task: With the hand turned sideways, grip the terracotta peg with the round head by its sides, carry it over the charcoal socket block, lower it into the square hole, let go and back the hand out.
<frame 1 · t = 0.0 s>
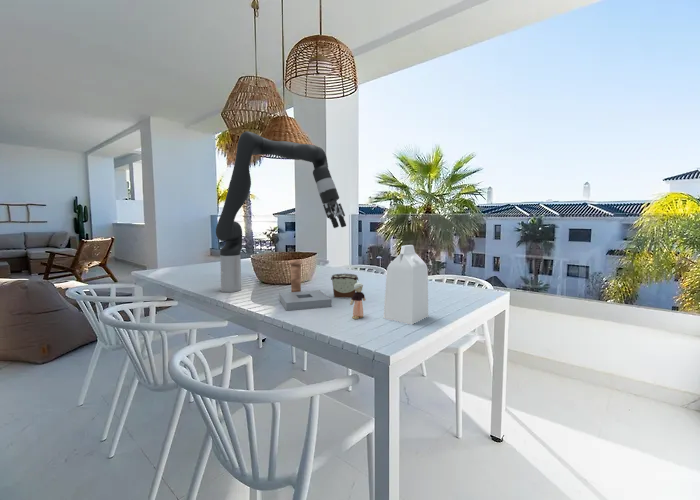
hand: (340, 227, 148), 31 cm above the table, tool tilted 20°, fingers open, 8 cm apart
food container: (345, 296, 159), on the table
headed peg: (296, 293, 163), on the table
socket block: (304, 303, 146), on the table
milk: (406, 318, 126), on the table
grandmother figurine: (358, 317, 127), on the table
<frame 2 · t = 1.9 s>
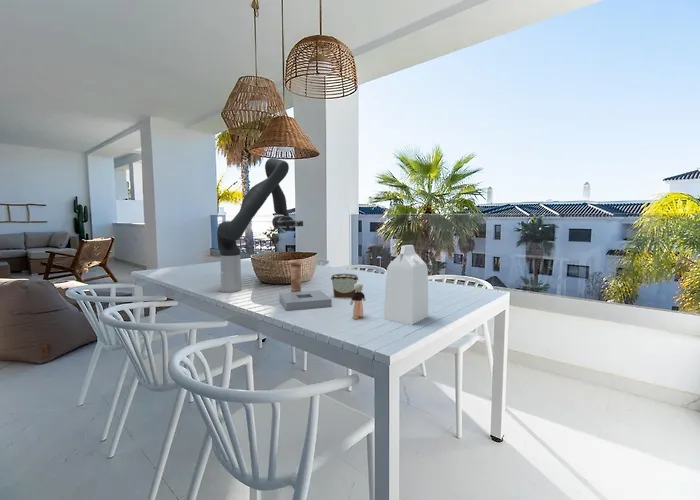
hand: (290, 224, 170), 32 cm above the table, tool horizontal, fingers open, 8 cm apart
nothing on the table moved.
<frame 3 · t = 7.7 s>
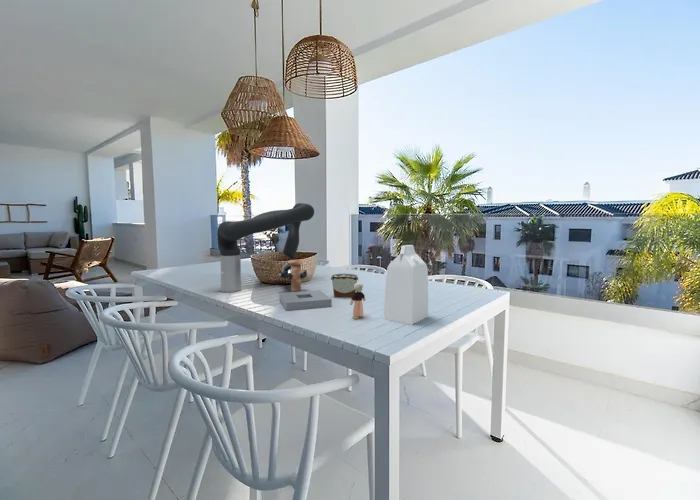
hand: (297, 276, 160), 9 cm above the table, tool horizontal, fingers closed on headed peg, 4 cm apart
headed peg: (296, 293, 163), on the table, touching gripper
everything else where it was.
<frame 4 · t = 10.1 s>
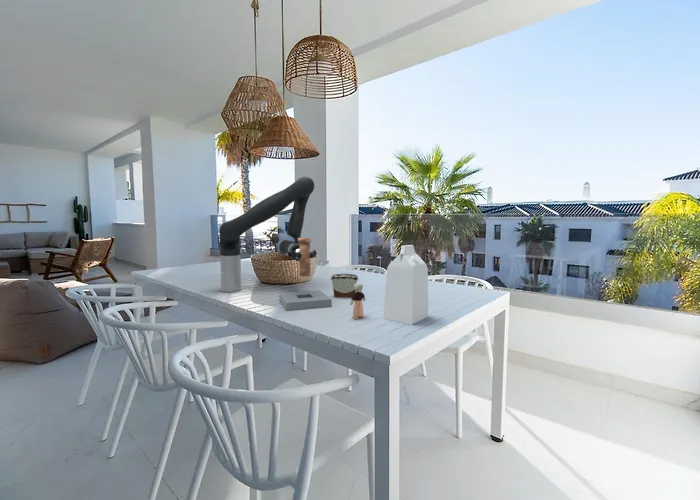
hand: (306, 255, 143), 20 cm above the table, tool horizontal, fingers closed on headed peg, 4 cm apart
headed peg: (305, 275, 147), point 11 cm above the table, touching gripper
everything else where it was.
when the fingers open (10 cm above the table, at t = 13.0 s): headed peg drops 1 cm, resting in socket block.
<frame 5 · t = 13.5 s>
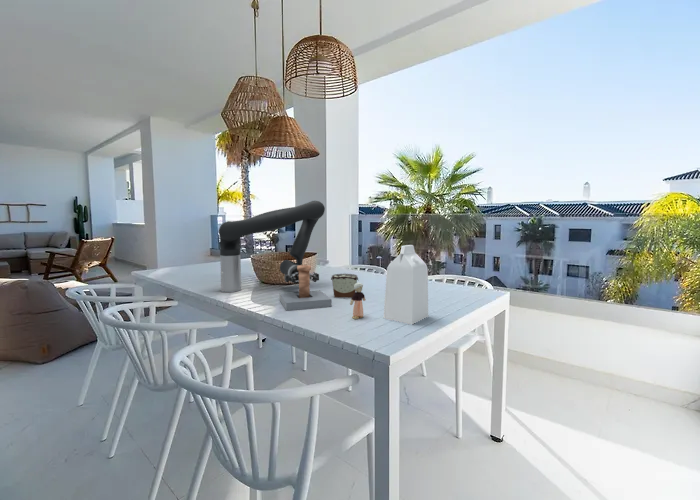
hand: (305, 280, 143), 10 cm above the table, tool horizontal, fingers open, 8 cm apart
headed peg: (304, 303, 146), resting in socket block
everything else where it was.
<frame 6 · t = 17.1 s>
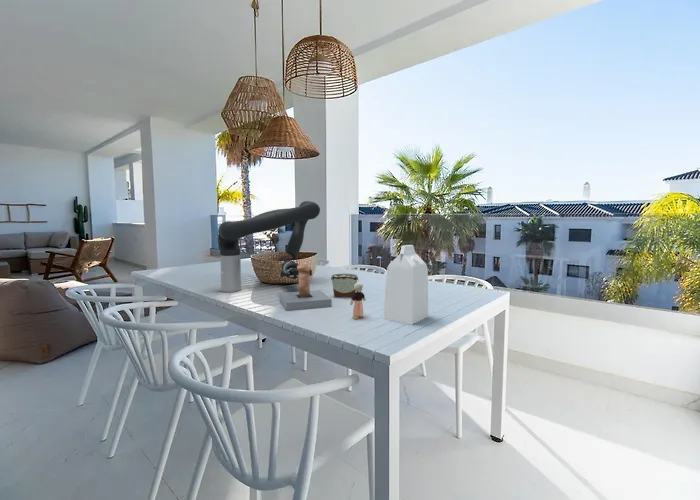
hand: (298, 275, 155), 10 cm above the table, tool horizontal, fingers open, 8 cm apart
nothing on the table moved.
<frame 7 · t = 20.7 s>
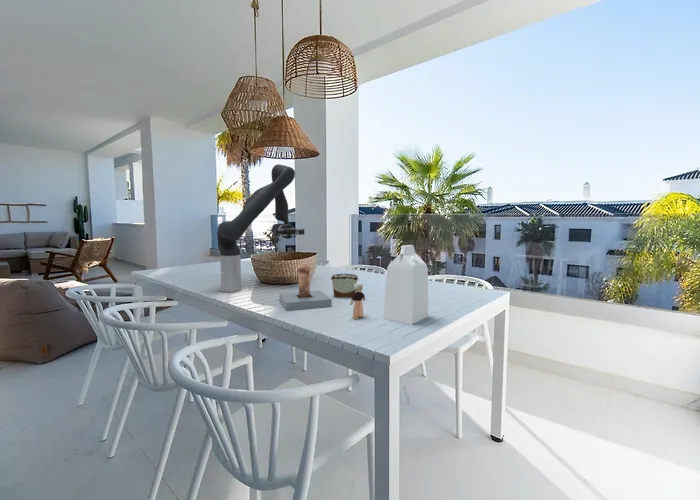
hand: (292, 232, 168), 28 cm above the table, tool horizontal, fingers open, 8 cm apart
nothing on the table moved.
at the end: headed peg 0.1 cm off-centre on the socket block, point 0.0 cm above the socket block's base; headed peg tilted 0°; the gripper is holding nothing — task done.
